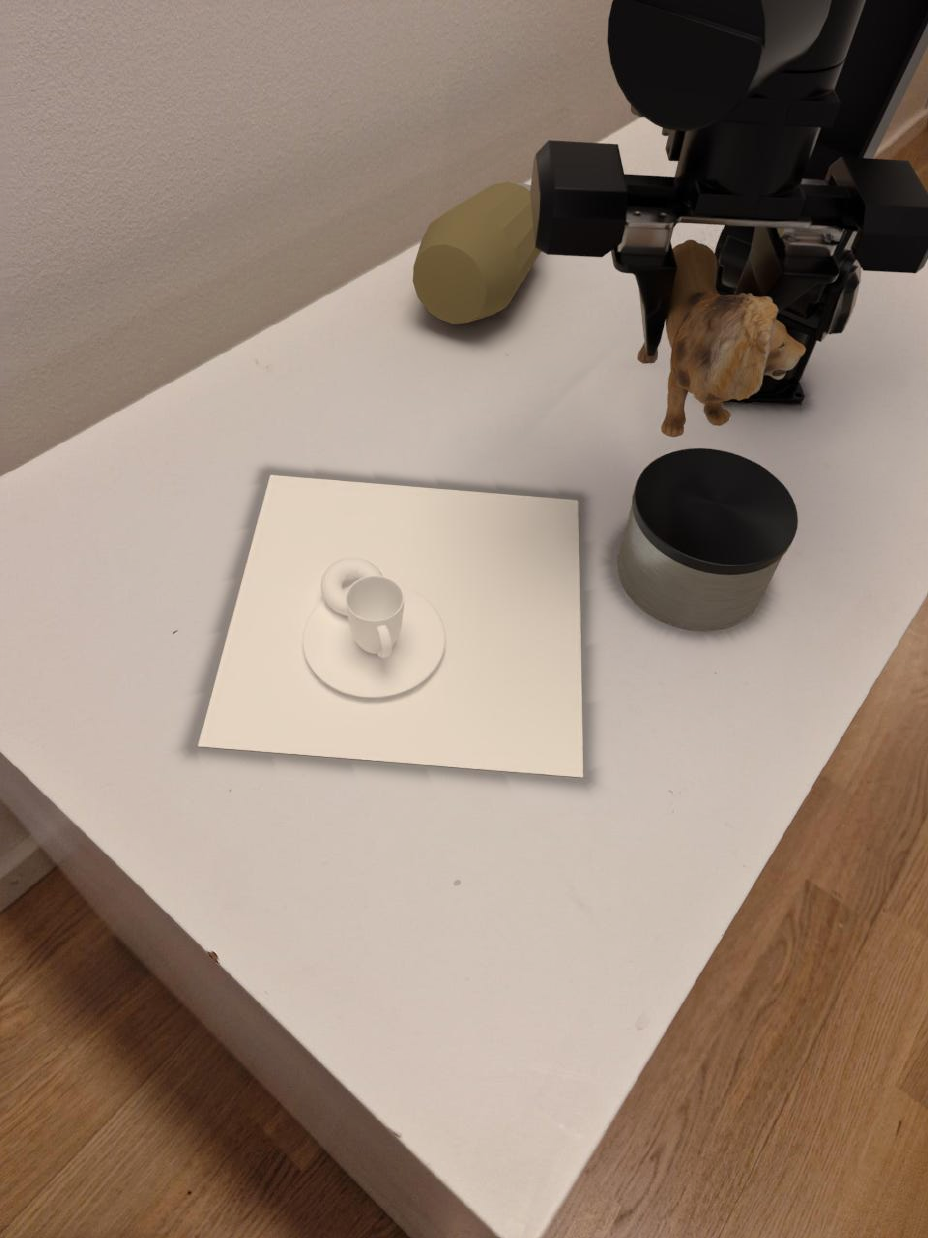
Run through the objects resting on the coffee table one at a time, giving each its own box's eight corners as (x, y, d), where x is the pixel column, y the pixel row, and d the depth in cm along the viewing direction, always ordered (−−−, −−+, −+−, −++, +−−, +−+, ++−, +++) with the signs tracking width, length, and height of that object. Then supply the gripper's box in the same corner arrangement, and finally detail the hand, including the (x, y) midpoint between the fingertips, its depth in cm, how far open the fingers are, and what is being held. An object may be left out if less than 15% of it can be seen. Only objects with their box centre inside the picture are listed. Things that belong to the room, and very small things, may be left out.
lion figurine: (781, 467, 48) (830, 318, 41) (683, 485, 48) (715, 337, 40) (684, 302, 57) (710, 155, 49) (600, 315, 56) (613, 169, 49)
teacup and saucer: (317, 571, 55) (312, 525, 52) (450, 582, 55) (453, 536, 52) (292, 696, 50) (284, 652, 47) (439, 708, 50) (442, 665, 47)
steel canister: (747, 518, 60) (776, 448, 55) (780, 633, 55) (817, 567, 50) (606, 516, 59) (624, 445, 55) (626, 632, 54) (648, 565, 49)
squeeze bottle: (481, 358, 69) (564, 260, 81) (514, 263, 63) (599, 171, 74) (387, 307, 70) (483, 217, 81) (411, 208, 63) (511, 125, 75)
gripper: (934, -17, 44) (816, 277, 57) (544, -43, 43) (511, 262, 56) (1020, 89, 37) (865, 397, 50) (560, 61, 37) (519, 381, 49)
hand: (685, 353), depth 51 cm, fingers closed on lion figurine, 4 cm apart
